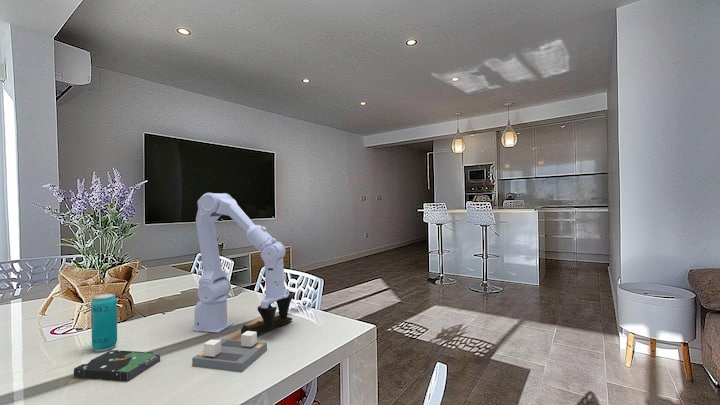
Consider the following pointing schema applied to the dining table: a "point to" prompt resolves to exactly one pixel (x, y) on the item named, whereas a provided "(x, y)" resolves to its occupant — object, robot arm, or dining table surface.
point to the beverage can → (104, 322)
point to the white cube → (212, 348)
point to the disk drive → (117, 365)
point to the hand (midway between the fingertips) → (276, 323)
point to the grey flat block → (231, 356)
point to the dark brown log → (260, 325)
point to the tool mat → (237, 334)
